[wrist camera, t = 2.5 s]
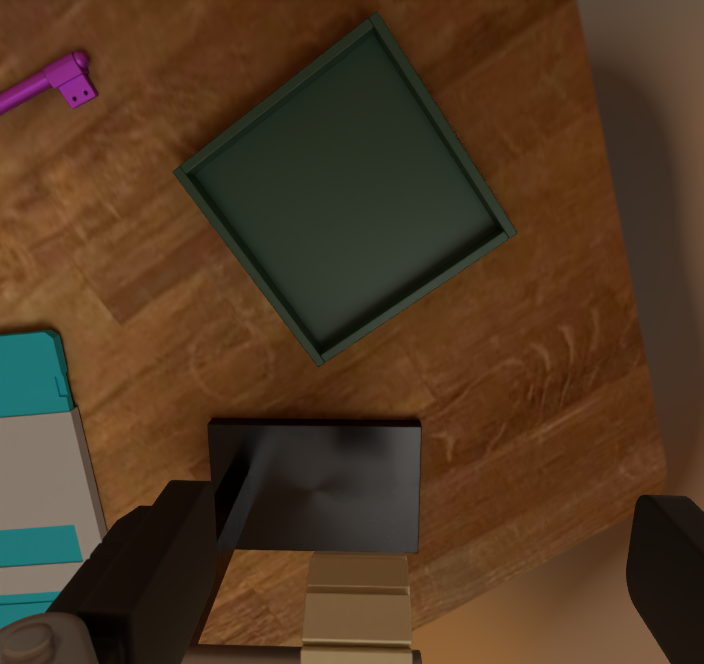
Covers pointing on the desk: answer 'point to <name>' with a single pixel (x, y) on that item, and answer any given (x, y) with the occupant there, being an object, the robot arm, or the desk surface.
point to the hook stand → (308, 500)
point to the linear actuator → (54, 83)
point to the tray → (346, 193)
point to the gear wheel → (357, 609)
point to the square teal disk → (41, 477)
